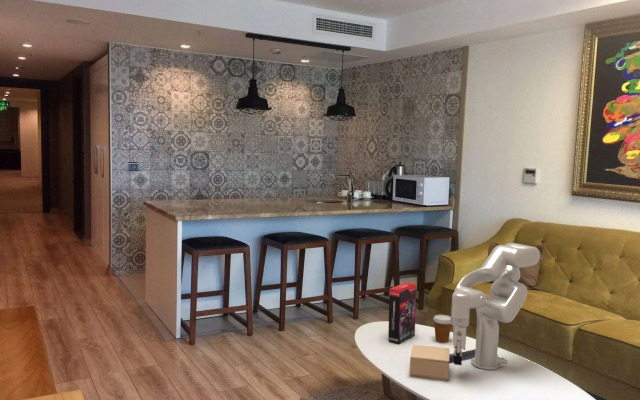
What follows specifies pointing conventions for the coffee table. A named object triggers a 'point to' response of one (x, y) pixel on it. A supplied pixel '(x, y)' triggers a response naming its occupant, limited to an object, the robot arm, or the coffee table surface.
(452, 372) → the coffee table surface
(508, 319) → the robot arm
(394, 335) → the graphics card box
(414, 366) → the carton
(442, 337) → the disposable coffee cup
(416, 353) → the carton lid
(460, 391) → the coffee table surface
